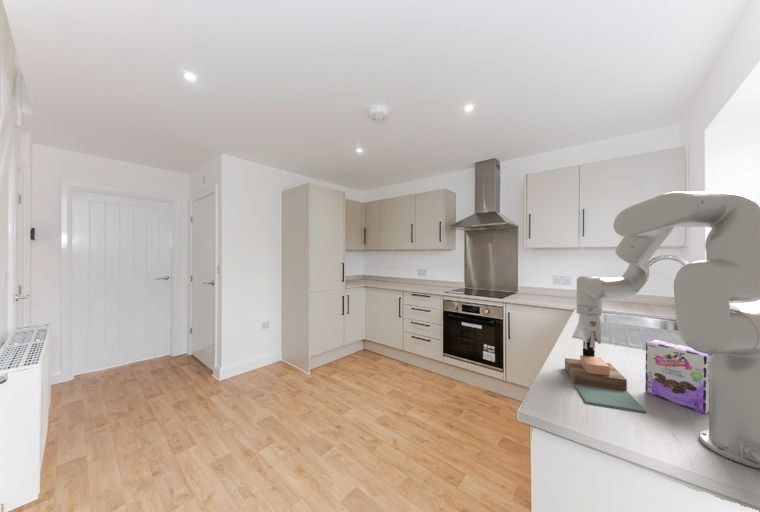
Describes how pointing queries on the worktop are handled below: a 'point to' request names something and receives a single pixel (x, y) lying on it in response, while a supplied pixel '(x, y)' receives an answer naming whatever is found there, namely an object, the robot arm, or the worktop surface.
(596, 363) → the peach rectangular block
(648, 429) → the worktop surface
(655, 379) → the candy box
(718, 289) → the robot arm
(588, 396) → the mat
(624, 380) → the brown block
